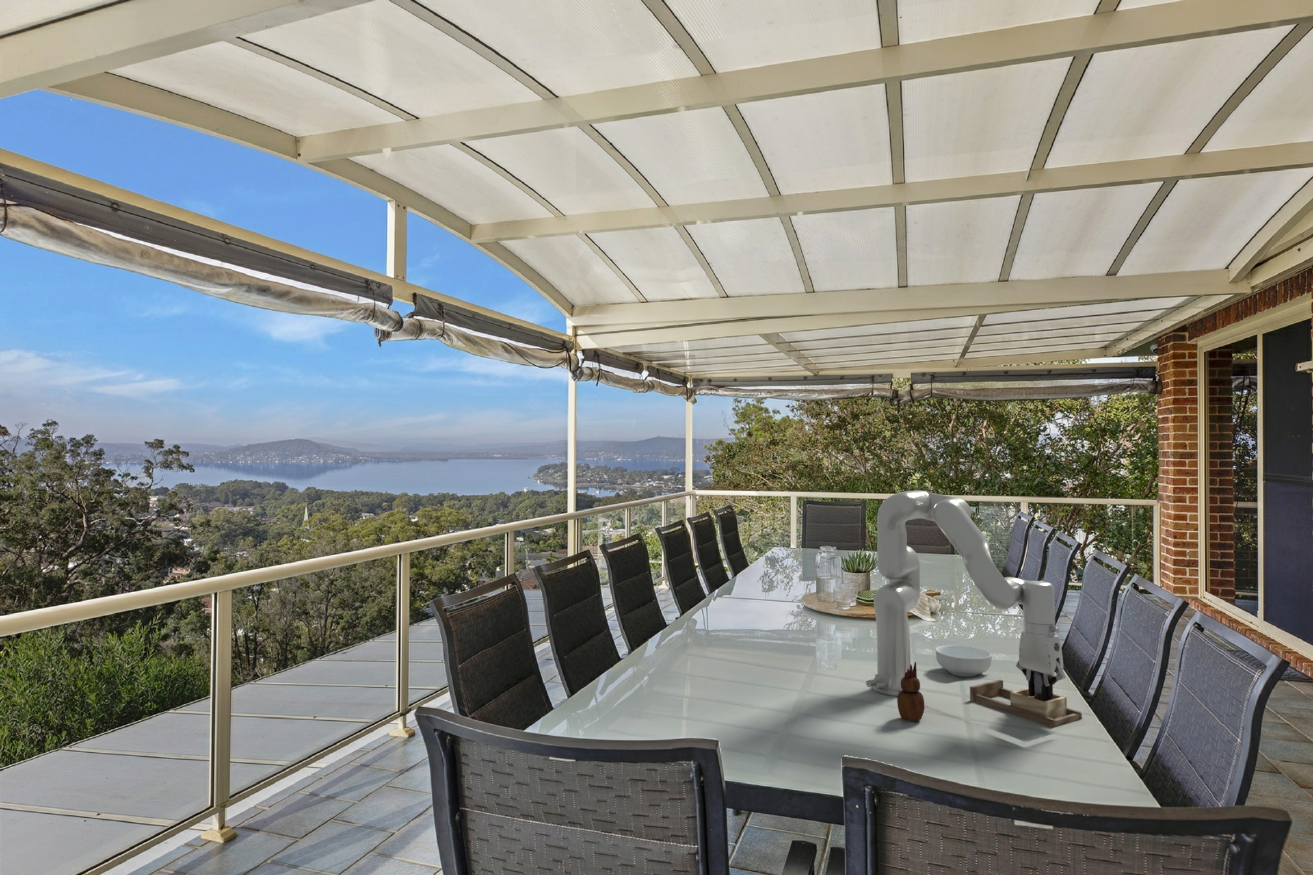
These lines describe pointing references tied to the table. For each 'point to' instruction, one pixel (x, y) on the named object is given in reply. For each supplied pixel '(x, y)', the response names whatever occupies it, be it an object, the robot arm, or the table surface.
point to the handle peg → (1038, 685)
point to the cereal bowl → (963, 660)
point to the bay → (996, 688)
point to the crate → (1040, 704)
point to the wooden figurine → (910, 697)
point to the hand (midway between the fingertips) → (1040, 697)
